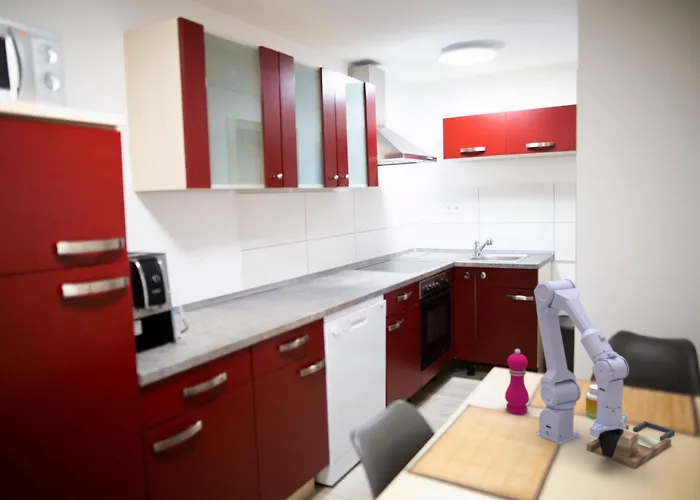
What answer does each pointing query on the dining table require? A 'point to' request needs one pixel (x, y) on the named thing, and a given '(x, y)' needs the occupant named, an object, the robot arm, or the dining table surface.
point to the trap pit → (646, 424)
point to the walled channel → (645, 452)
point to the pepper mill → (517, 384)
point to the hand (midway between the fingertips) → (607, 455)
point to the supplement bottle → (591, 402)
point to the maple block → (627, 443)
